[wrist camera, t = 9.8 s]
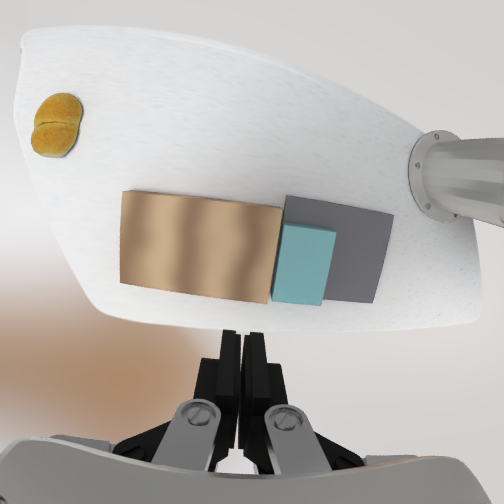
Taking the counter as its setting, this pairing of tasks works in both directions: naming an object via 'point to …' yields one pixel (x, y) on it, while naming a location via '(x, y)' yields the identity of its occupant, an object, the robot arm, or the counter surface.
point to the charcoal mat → (347, 245)
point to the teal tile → (302, 264)
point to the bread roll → (56, 125)
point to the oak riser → (198, 245)
